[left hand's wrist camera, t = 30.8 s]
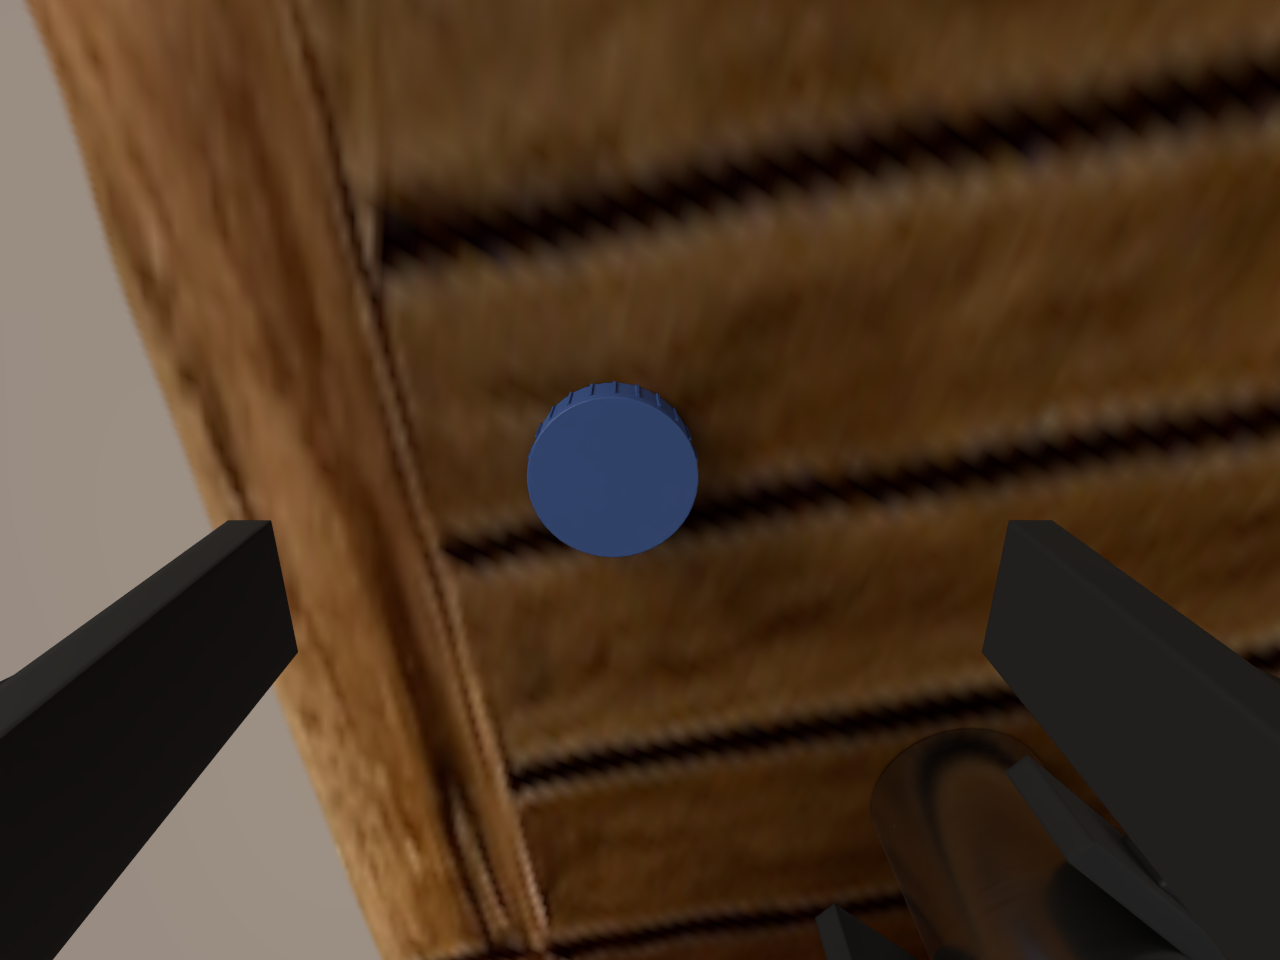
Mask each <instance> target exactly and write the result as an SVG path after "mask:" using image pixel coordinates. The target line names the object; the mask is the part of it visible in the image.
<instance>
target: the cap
mask: <svg viewBox="0 0 1280 960" xmlns="http://www.w3.org/2000/svg"><path fill="white" fill-rule="evenodd" d="M535 438H536V441H535V443H533V445H532V448H531V450H530V453H529V455H528V459H529V463H528V470H527V483H528V490H529V495H530V499H531V502H532V504H533V507H534V509H535V511H536V513H537V515H538V517H539V518H540V519H541V521H542V522H543V524H544V525H545V526H546V527H547V528H548V529H549V531H550V532H551V533H552V534H554V535H555V536H556V537H557V538H558V539H560V540H561V541H562V542H564V543H566V544H567V545H569V546H570V547H573V548H575V549H577V550H579V551H582V552H585V553H588V554H591V555H596V556H603V557H623V556H630V555H634V554H638V553H642V552H644V551H647V550H649V549H652V548H654V547H655V546H657V545H659V544H661V543H662V542H664V541H665V540H666V539H668V538H669V537H670V536H671V535H672V534H673V533H674V532H675V531H677V530H678V528H679V527H680V526H681V525H682V523H683V522H684V521H685V519H686V518H687V516H688V514H689V513H690V510H691V508H692V506H693V504H694V500H695V497H696V494H697V487H698V482H699V480H698V467H697V462H698V457H697V454H696V451H695V448H694V445H692V444H691V440H692V439H691V436H690V433H689V430H688V427H687V425H686V426H685V425H684V424H683V422H682V420H681V419H680V417H679V416H678V414H677V411H676V409H675V408H672V407H671V406H670V405H669V404H668V403H667V402H665V401H664V400H663V399H661V398H660V396H659V394H657V393H656V394H654V393H652V392H650V391H648V390H646V389H643V388H641V387H639V385H637V384H636V385H635V386H634V385H630V384H624V383H616V381H613V383H602V384H596V385H593V383H592V384H590V386H588V387H585V388H583V389H580V390H578V391H576V392H574V393H572V392H570V393H569V396H567V397H566V398H565V399H563V400H562V401H561V402H560V403H558V404H557V405H556V407H555V406H553V407H552V409H551V411H550V413H549V415H548V416H547V418H546V419H545V421H544V423H543V424H542V423H540V425H539V428H538V430H537V433H536V435H535Z"/></svg>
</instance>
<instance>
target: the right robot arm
mask: <svg viewBox="0 0 1280 960" xmlns="http://www.w3.org/2000/svg"><path fill="white" fill-rule="evenodd" d="M1005 773H1006V775H1007V776H1008V778H1009V779H1010V781H1011V782H1012V783H1013V785H1014V786H1015V788H1016V789H1017V790H1018V792H1019V793H1020V795H1021V796H1022V798H1023V799H1024V800H1025V802H1026V803H1027V805H1028V806H1029V808H1030V809H1031V810H1032V812H1033V813H1034V815H1035V816H1036V817H1037V819H1038V820H1039V822H1040V823H1041V825H1042V826H1043V827H1044V829H1045V830H1046V832H1047V833H1048V835H1049V836H1050V837H1051V839H1052V840H1053V842H1054V843H1055V844H1056V846H1057V847H1058V849H1059V850H1060V852H1061V853H1062V854H1063V856H1064V857H1065V859H1066V860H1067V861H1068V862H1069V863H1070V864H1071V865H1073V866H1074V867H1075V868H1076V869H1078V870H1079V871H1080V872H1081V873H1083V874H1084V875H1085V876H1086V877H1088V878H1089V879H1090V880H1091V881H1093V882H1094V883H1095V884H1096V885H1098V886H1099V887H1100V888H1101V889H1103V890H1104V891H1105V892H1107V893H1108V894H1109V895H1110V896H1112V897H1113V898H1114V899H1115V900H1117V901H1118V902H1119V903H1120V904H1122V905H1123V906H1124V907H1125V908H1127V909H1128V910H1129V911H1130V912H1132V913H1133V914H1134V915H1135V916H1137V917H1138V918H1139V919H1140V920H1142V921H1143V922H1144V923H1145V924H1147V925H1148V926H1149V927H1150V928H1152V929H1153V930H1154V931H1156V932H1157V933H1158V934H1159V935H1161V936H1162V937H1163V938H1164V939H1166V940H1167V941H1168V942H1169V943H1171V944H1172V945H1173V946H1174V947H1176V948H1177V949H1178V950H1179V951H1181V952H1182V953H1183V954H1184V955H1186V956H1187V957H1189V958H1190V959H1191V960H1227V959H1226V958H1225V956H1224V955H1223V954H1222V953H1221V951H1220V950H1219V949H1218V947H1217V946H1216V945H1215V944H1214V942H1213V941H1212V940H1211V939H1210V937H1209V936H1208V935H1207V934H1206V932H1205V931H1204V930H1203V929H1202V927H1201V926H1200V925H1199V924H1198V922H1197V921H1196V920H1195V919H1194V917H1193V916H1192V915H1191V914H1190V912H1189V911H1188V910H1187V909H1186V907H1185V906H1184V905H1183V904H1182V902H1181V901H1180V900H1179V899H1178V897H1177V896H1176V895H1175V894H1174V892H1173V891H1172V890H1171V889H1170V887H1169V886H1168V885H1167V884H1166V882H1165V881H1164V880H1163V879H1162V877H1161V876H1160V875H1159V874H1158V872H1157V871H1156V870H1155V868H1154V867H1153V866H1152V865H1151V863H1150V862H1149V861H1148V860H1147V858H1146V857H1145V856H1144V855H1143V853H1142V852H1141V851H1140V850H1139V848H1138V847H1137V846H1136V845H1135V843H1134V842H1133V841H1132V840H1131V838H1130V837H1129V836H1128V835H1125V836H1124V835H1123V834H1122V833H1120V832H1119V831H1118V830H1117V829H1116V828H1114V827H1113V826H1112V825H1111V824H1110V823H1108V822H1107V821H1106V820H1105V819H1104V818H1103V817H1101V816H1100V815H1099V814H1098V813H1097V812H1095V811H1094V810H1093V809H1092V808H1091V807H1089V806H1088V805H1087V804H1086V803H1085V802H1083V801H1082V800H1081V799H1080V798H1079V797H1078V796H1076V795H1075V794H1074V793H1073V792H1072V791H1070V790H1069V789H1068V788H1067V787H1066V786H1064V785H1063V784H1062V783H1061V782H1060V781H1058V780H1057V779H1056V778H1055V777H1054V776H1053V775H1051V774H1050V773H1049V772H1048V771H1047V770H1045V769H1044V768H1043V767H1042V766H1041V765H1039V764H1038V763H1037V762H1036V761H1035V760H1033V759H1032V758H1031V757H1030V756H1029V755H1026V756H1025V757H1023V758H1022V759H1021V760H1019V761H1018V762H1017V763H1016V764H1014V765H1013V766H1012V767H1010V768H1009V769H1008V770H1006V771H1005ZM815 919H816V923H817V926H818V930H819V933H820V937H821V940H822V944H823V947H824V951H825V955H826V958H827V960H918V959H916V958H915V957H913V956H912V955H910V954H909V953H907V952H906V951H904V950H903V949H901V948H900V947H898V946H897V945H895V944H894V943H892V942H891V941H889V940H888V939H887V938H885V937H884V936H882V935H881V934H879V933H878V932H876V931H875V930H873V929H872V928H870V927H869V926H867V925H866V924H864V923H863V922H861V921H860V920H858V919H857V918H855V917H854V916H852V915H851V914H849V913H848V912H846V911H845V910H843V909H842V908H841V907H839V906H838V905H836V904H835V903H834V904H833V905H831V906H830V907H829V908H828V909H826V910H825V911H824V912H822V913H821V914H820V915H819V916H817V917H816V918H815Z"/></svg>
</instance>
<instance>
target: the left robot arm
mask: <svg viewBox="0 0 1280 960" xmlns="http://www.w3.org/2000/svg"><path fill="white" fill-rule="evenodd" d="M297 653H298V650H297V645H296V640H295V635H294V630H293V625H292V620H291V615H290V611H289V606H288V601H287V596H286V591H285V586H284V581H283V576H282V571H281V567H280V562H279V557H278V552H277V547H276V542H275V537H274V532H273V527H272V523H271V520H228V521H227V522H225V523H224V524H222V525H221V526H220V527H218V528H217V529H216V530H214V531H213V532H211V533H210V534H209V535H207V536H206V537H204V538H203V539H202V540H200V541H199V542H197V543H196V544H195V545H193V546H192V547H191V548H189V549H188V550H186V551H185V552H184V553H182V554H181V555H179V556H178V557H177V558H175V559H174V560H173V561H171V562H170V563H168V564H167V565H166V566H164V567H163V568H161V569H160V570H159V571H157V572H156V573H155V574H153V575H152V576H150V577H149V578H148V579H146V580H145V581H143V582H142V583H141V584H139V585H138V586H137V587H135V588H134V589H132V590H131V591H130V592H128V593H127V594H125V595H124V596H123V597H121V598H120V599H119V600H117V601H116V602H114V603H113V604H112V605H110V606H109V607H107V608H106V609H105V610H103V611H102V612H100V613H99V614H98V615H96V616H95V617H94V618H92V619H91V620H89V621H88V622H87V623H85V624H84V625H82V626H81V627H80V628H78V629H77V630H76V631H74V632H73V633H71V634H70V635H69V636H67V637H66V638H64V639H63V640H62V641H60V642H59V643H58V644H56V645H55V646H53V647H52V648H51V649H49V650H48V651H46V652H45V653H44V654H42V655H41V656H39V657H38V658H37V659H35V660H34V661H33V662H31V663H30V664H28V665H27V666H26V667H24V668H23V669H22V670H20V671H19V672H17V673H16V674H15V675H13V676H11V677H9V678H7V679H5V680H3V681H1V682H0V960H53V959H54V957H55V956H56V955H57V954H58V953H59V951H60V950H61V949H62V947H63V946H64V945H65V944H66V942H67V941H68V940H69V939H70V937H71V936H72V935H73V934H74V932H75V931H76V930H77V929H78V927H79V926H80V925H81V924H82V922H83V921H84V920H85V919H86V917H87V916H88V915H89V914H90V912H91V911H92V910H93V909H94V907H95V906H96V905H97V904H98V902H99V901H100V900H101V899H102V897H103V896H104V895H105V894H106V892H107V891H108V890H109V889H110V887H111V886H112V885H113V883H114V882H115V881H116V880H117V878H118V877H119V876H120V875H121V873H122V872H123V871H124V870H125V868H126V867H127V866H128V865H129V863H130V862H131V861H132V860H133V858H134V857H135V856H136V855H137V853H138V852H139V851H140V850H141V848H142V847H143V846H144V845H145V843H146V842H147V841H148V840H149V838H150V837H151V836H152V835H153V833H154V832H155V831H156V830H157V828H158V827H159V826H160V825H161V823H162V822H163V821H164V820H165V818H166V817H167V816H168V815H169V813H170V812H171V811H172V810H173V808H174V807H175V806H176V805H177V803H178V802H179V801H180V800H181V798H182V797H183V796H184V795H185V793H186V792H187V791H188V789H189V788H190V787H191V786H192V784H193V783H194V782H195V781H196V779H197V778H198V777H199V776H200V774H201V773H202V772H203V771H204V769H205V768H206V767H207V766H208V764H209V763H210V762H211V761H212V759H213V758H214V757H215V756H216V754H217V753H218V752H219V751H220V749H221V748H222V747H223V745H224V744H225V743H226V742H227V740H228V739H229V738H230V737H231V736H232V734H233V733H234V732H235V731H236V729H237V728H238V727H239V725H240V724H241V723H242V722H243V721H244V719H245V718H246V717H247V715H248V714H249V713H250V712H251V710H252V709H253V708H254V707H255V705H256V704H257V703H258V702H259V700H260V699H261V698H262V697H263V695H264V694H265V693H266V692H267V690H268V689H269V688H270V687H271V685H272V684H273V683H274V682H275V680H276V679H277V678H278V677H279V675H280V674H281V673H282V672H283V670H284V669H285V668H286V667H287V665H288V664H289V663H290V662H291V660H292V659H293V658H294V657H295V655H296V654H297ZM982 653H983V654H984V655H985V657H986V658H987V659H988V660H989V662H990V663H991V664H992V665H993V667H994V668H995V669H996V670H997V672H998V673H999V674H1000V675H1001V677H1002V678H1003V679H1004V680H1005V682H1006V683H1007V684H1008V685H1009V687H1010V688H1011V689H1012V690H1013V692H1014V693H1015V694H1016V695H1017V697H1018V698H1019V699H1020V700H1021V702H1022V703H1023V704H1024V705H1025V707H1026V708H1027V709H1028V710H1029V712H1030V713H1031V714H1032V715H1033V717H1034V718H1035V719H1036V721H1037V722H1038V723H1039V724H1040V726H1041V727H1042V728H1043V729H1044V731H1045V732H1046V733H1047V734H1048V736H1049V737H1050V738H1051V739H1052V741H1053V742H1054V743H1055V744H1056V746H1057V747H1058V748H1059V749H1060V751H1061V752H1062V753H1063V754H1064V756H1065V757H1066V758H1067V759H1068V761H1069V762H1070V763H1071V764H1072V766H1073V767H1074V768H1075V769H1076V771H1077V772H1078V773H1079V774H1080V776H1081V777H1082V778H1083V779H1084V781H1085V782H1086V783H1087V784H1088V786H1089V787H1090V788H1091V789H1092V791H1093V792H1094V793H1095V795H1096V796H1097V797H1098V798H1099V800H1100V801H1101V802H1102V803H1103V805H1104V806H1105V807H1106V808H1107V810H1108V811H1109V812H1110V813H1111V815H1112V816H1113V817H1114V818H1115V820H1116V821H1117V822H1118V823H1119V825H1120V826H1121V827H1122V828H1123V830H1124V831H1125V832H1126V833H1127V835H1128V836H1129V837H1130V838H1131V840H1132V841H1133V842H1134V843H1135V845H1136V846H1137V847H1138V848H1139V850H1140V851H1141V852H1142V853H1143V855H1144V856H1145V857H1146V858H1147V860H1148V861H1149V862H1150V863H1151V865H1152V866H1153V867H1154V868H1155V870H1156V871H1157V872H1158V874H1159V875H1160V876H1161V877H1162V879H1163V880H1164V881H1165V882H1166V884H1167V885H1168V886H1169V887H1170V889H1171V890H1172V891H1173V892H1174V894H1175V895H1176V896H1177V897H1178V899H1179V900H1180V901H1181V902H1182V904H1183V905H1184V906H1185V907H1186V909H1187V910H1188V911H1189V912H1190V914H1191V915H1192V916H1193V917H1194V919H1195V920H1196V921H1197V922H1198V924H1199V925H1200V926H1201V927H1202V929H1203V930H1204V931H1205V932H1206V934H1207V935H1208V936H1209V937H1210V939H1211V940H1212V941H1213V942H1214V944H1215V945H1216V946H1217V947H1218V949H1219V950H1220V951H1221V953H1222V954H1223V955H1224V956H1225V958H1226V959H1227V960H1280V678H1278V677H1276V676H1274V675H1271V674H1269V673H1267V672H1265V671H1263V670H1261V669H1259V668H1256V667H1254V666H1253V665H1252V664H1250V663H1249V662H1247V661H1246V660H1245V659H1243V658H1242V657H1241V656H1239V655H1238V654H1236V653H1235V652H1234V651H1232V650H1231V649H1229V648H1228V647H1227V646H1225V645H1224V644H1223V643H1221V642H1220V641H1218V640H1217V639H1216V638H1214V637H1213V636H1211V635H1210V634H1209V633H1207V632H1206V631H1204V630H1203V629H1202V628H1200V627H1199V626H1198V625H1196V624H1195V623H1193V622H1192V621H1191V620H1189V619H1188V618H1186V617H1185V616H1184V615H1182V614H1181V613H1180V612H1178V611H1177V610H1175V609H1174V608H1173V607H1171V606H1170V605H1168V604H1167V603H1166V602H1164V601H1163V600H1162V599H1160V598H1159V597H1157V596H1156V595H1155V594H1153V593H1152V592H1150V591H1149V590H1148V589H1146V588H1145V587H1143V586H1142V585H1141V584H1139V583H1138V582H1137V581H1135V580H1134V579H1132V578H1131V577H1130V576H1128V575H1127V574H1125V573H1124V572H1123V571H1121V570H1120V569H1119V568H1117V567H1116V566H1114V565H1113V564H1112V563H1110V562H1109V561H1107V560H1106V559H1105V558H1103V557H1102V556H1101V555H1099V554H1098V553H1096V552H1095V551H1094V550H1092V549H1091V548H1089V547H1088V546H1087V545H1085V544H1084V543H1083V542H1081V541H1080V540H1078V539H1077V538H1076V537H1074V536H1073V535H1071V534H1070V533H1069V532H1067V531H1066V530H1064V529H1063V528H1062V527H1060V526H1059V525H1058V524H1056V523H1055V522H1053V521H1052V520H1009V523H1008V527H1007V532H1006V537H1005V542H1004V547H1003V552H1002V557H1001V562H1000V567H999V571H998V576H997V581H996V586H995V591H994V596H993V601H992V606H991V611H990V615H989V620H988V625H987V630H986V635H985V640H984V645H983V650H982Z"/></svg>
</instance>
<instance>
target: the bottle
mask: <svg viewBox="0 0 1280 960" xmlns="http://www.w3.org/2000/svg"><path fill="white" fill-rule="evenodd" d="M1026 755H1029V756H1030V757H1031V758H1032V759H1033V760H1035V761H1036V762H1037V763H1038V764H1039V765H1041V766H1042V767H1043V768H1044V766H1043V765H1042V764H1041V763H1040V761H1039V760H1038V759H1037V757H1036V756H1035V755H1034V754H1033V753H1032V752H1031V750H1030V749H1029V748H1028V747H1026V746H1025V745H1024V744H1023V743H1021V742H1020V741H1018V740H1016V739H1015V738H1013V737H1010V736H1008V735H1006V734H1003V733H1000V732H996V731H992V730H985V729H960V730H954V731H948V732H944V733H941V734H937V735H934V736H932V737H929V738H927V739H924V740H922V741H920V742H919V743H917V744H915V745H913V746H911V747H910V748H908V749H907V750H905V751H904V752H903V753H902V754H900V755H899V756H898V757H897V758H896V759H895V760H894V761H893V762H892V763H891V764H890V765H889V766H888V767H887V768H886V770H885V771H884V772H883V774H882V775H881V777H880V779H879V780H878V782H877V784H876V787H875V789H874V792H873V796H872V801H871V816H872V821H873V824H874V828H875V830H876V832H877V835H878V837H879V839H880V842H881V844H882V846H883V849H884V851H885V854H886V856H887V858H888V861H889V863H890V865H891V868H892V870H893V873H894V875H895V877H896V880H897V882H898V884H899V887H900V889H901V891H902V894H903V896H904V899H905V901H906V903H907V906H908V908H909V910H910V913H911V915H912V918H913V920H914V922H915V925H916V927H917V929H918V932H919V934H920V936H921V939H922V941H923V944H924V946H925V948H926V951H927V953H928V955H929V958H930V960H1191V959H1190V958H1189V957H1187V956H1186V955H1184V954H1183V953H1182V952H1181V951H1179V950H1178V949H1177V948H1176V947H1174V946H1173V945H1172V944H1171V943H1169V942H1168V941H1167V940H1166V939H1164V938H1163V937H1162V936H1161V935H1159V934H1158V933H1157V932H1156V931H1154V930H1153V929H1152V928H1150V927H1149V926H1148V925H1147V924H1145V923H1144V922H1143V921H1142V920H1140V919H1139V918H1138V917H1137V916H1135V915H1134V914H1133V913H1132V912H1130V911H1129V910H1128V909H1127V908H1125V907H1124V906H1123V905H1122V904H1120V903H1119V902H1118V901H1117V900H1115V899H1114V898H1113V897H1112V896H1110V895H1109V894H1108V893H1107V892H1105V891H1104V890H1103V889H1101V888H1100V887H1099V886H1098V885H1096V884H1095V883H1094V882H1093V881H1091V880H1090V879H1089V878H1088V877H1086V876H1085V875H1084V874H1083V873H1081V872H1080V871H1079V870H1078V869H1076V868H1075V867H1074V866H1073V865H1071V864H1070V863H1069V862H1068V861H1067V860H1066V859H1065V857H1064V856H1063V854H1062V853H1061V852H1060V850H1059V849H1058V847H1057V846H1056V844H1055V843H1054V842H1053V840H1052V839H1051V837H1050V836H1049V835H1048V833H1047V832H1046V830H1045V829H1044V827H1043V826H1042V825H1041V823H1040V822H1039V820H1038V819H1037V817H1036V816H1035V815H1034V813H1033V812H1032V810H1031V809H1030V808H1029V806H1028V805H1027V803H1026V802H1025V800H1024V799H1023V798H1022V796H1021V795H1020V793H1019V792H1018V790H1017V789H1016V788H1015V786H1014V785H1013V783H1012V782H1011V781H1010V779H1009V778H1008V776H1007V775H1006V773H1005V771H1006V770H1008V769H1009V768H1010V767H1012V766H1013V765H1014V764H1016V763H1017V762H1018V761H1019V760H1021V759H1022V758H1023V757H1025V756H1026ZM1044 769H1045V768H1044ZM1045 770H1046V769H1045Z"/></svg>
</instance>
